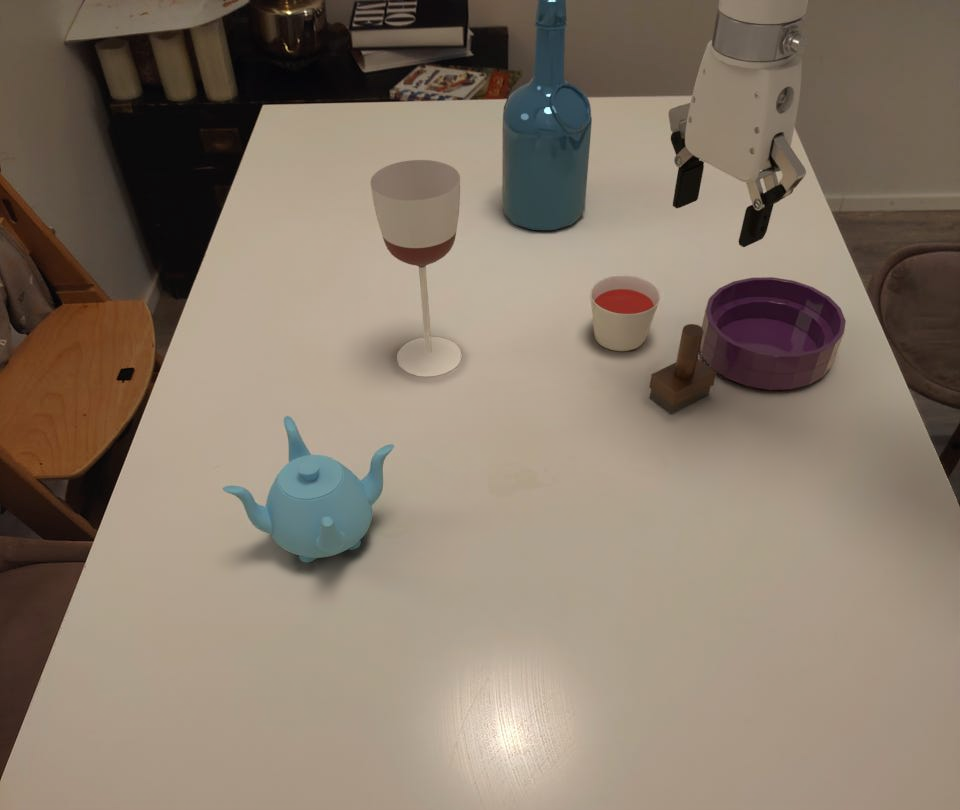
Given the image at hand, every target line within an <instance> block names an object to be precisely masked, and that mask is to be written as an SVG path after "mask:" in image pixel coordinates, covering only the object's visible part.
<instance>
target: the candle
mask: <svg viewBox="0 0 960 810" xmlns="http://www.w3.org/2000/svg"><path fill="white" fill-rule="evenodd" d="M589 293H590V304H591V306H590V307H591V315H592V326H593V335H594V338H595V340H596V342H597V344H599V345H600V346H602V347H603V348H605V349H607V350H611V351H615V352H628V351H632V350H633V351H634V350H635V349H638V348H640V347H641V346H642V345H643V344H644V342H645V341H646V339H647V337H648V334H649V332H650V329H651V326H652V323H653V321H654V318H655V315H656V312H657V309H658V307H659V304H660V302H661V292H660V290H659V288H658V287H657V286H656V284H654V283H653V282H652V281H650V280H648V279H646V278H643V277H641V276H637V275H631V274H616V275H615V274H614V275H610V276H607V277H604V278H601V279H599V280H598V281H597V282H595V283H594V284H593V285H592V286H591V289H590V292H589Z"/></svg>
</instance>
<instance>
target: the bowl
mask: <svg viewBox="0 0 960 810" xmlns="http://www.w3.org/2000/svg"><path fill="white" fill-rule="evenodd" d="M846 323H847V320H846V318H845V316H844V313H843V311H842V308H841V307H840V306H839V305H838V303H836V301H834V300H833V299H832V298H831V296H829V295H827V294H826V293H824V292H822V291H821V290H819V289H817V288H815V287H813V286H811V285H807V284H805V283H802V282H799V281H796V280H792V279H785V278H779V277H770V276H769V277H768V276H767V277H766V276H765V277H763V276H762V277H748V278H744V279H739V280H733V281H731V282H729V283H727V284H725V285H723V286H721V287H719V288H717V290H716V291H715V292H714V293H712V294H711V296H710V297H709V298H708V300H707V304H706V307H705V310H704V315H703V320H702V325H701V327H702V328H703V335H702V340H701V344H700V349H699V352H700V355H701V356H702V358H703V359H704V360H705V362H706V363H707V365H708V366H709V367H711V368H712V369H713V370H715V371H716V373H718V374H720V375H721V376H722V377H724V378H726V379H728V380H730V381H733V382H736V383H738V384H741V385H743V386H746V387H751V388H755V389H761V390H765V391H766V390H767V391H768V390H769V391H770V390H772V391H773V390H775V391H777V390H779V391H780V390H793V389H797V388H801V387H807V386H809V385H811V384H813V383H815V382H816V381H817V382H818V380H820V379H822V378H823V377H825V375H827V373H828V371H830V369H831V368H832V367H833V364H834V362H835V358H836V356H837V353H838V350H839V348H840V345H841V343H842V339H843V337H844V334H845V330H846V329H845V328H846Z"/></svg>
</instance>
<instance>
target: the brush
mask: <svg viewBox="0 0 960 810" xmlns="http://www.w3.org/2000/svg"><path fill="white" fill-rule="evenodd" d="M702 335H703V328H702V326H701V325H700V324H699V325H698V324H695V323H688V324H686V325H684V326H683V327H682V331H681V335H680V341H679V346H678V351H677V356H676V361H675V362H674V363H671V364H670V365H667V366H665V367H663V368H662V369H659V370H657V371H655V372H653V373H651V376H650V382H649V389H650V395H649V399H651V400H652V401H654V402H655V403H656V404H657V405H659V406H660V407H661V408H663V409H664V410H665V411H667V412H668V413H669V414H671V415H672V414H674V413H676V412H679V411H680V410H682V409H684V408H686V407H688V406H690V405H691V404H693V403H695V402H697V401H699V400H701V399H703V398H705V397H707V396H708V395H710V392H711V387H712V386H714V384H715V381H716V376H717V371H715V370H714V369H713V368H711V367H710V365H709V364H706V363H705V362H703V360H701V359H699V358H698V357H699V354H700V353H699V352H700V344H701V340H702Z"/></svg>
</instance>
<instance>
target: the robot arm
mask: <svg viewBox="0 0 960 810" xmlns="http://www.w3.org/2000/svg"><path fill="white" fill-rule="evenodd" d="M808 4H809V0H718V6H717V10H716V16H715V22H714V27H713V32H712V33H713V34H712V39H710V41H708V43H707V45H706V47H705V50H704V53H703V56H702V59H701V62H700V65H699V68H698V72H697V75H696V79H695V83H694V86H693V90H692V93H691V99H690V102H688V103H684V104H682V105H681V104H680V105H678V106H675V107H672V108H670V109H669V111H668V114H667V115H668V120H669V128H670V131H671V135H670V141H671V145H672V148H673V150H674V153H675V156H674V160H673V162H674V165H675V166H676V167H677V168H678V169H677V175H676V176H677V177H676V181H675V187H674V193H673V201H672V207H674V208H675V209H680V208H683V207H685V206H688V205H690V204H692V203H695V202H696V201H698V199H699V195H700V190H701V186H702V185H701V184H702V179H703V174H704V170H705V169H704V168H705V163H706V164H708V165H710V166H712V167H714V168H715V169H717V170H719V171H720V172H723V173H725V174H726V175H729V176H730V177H732V178H735V179H737V180H738V181H740V182H743V183H746V187H747V191H748V193H749V197H750V201H751V205H748V206H747V207H746V209H745V212H744V216H743V220H742V224H741V228H740V233H739V238H738V245H739V246H740V247H742V248H746V247H748V246H750V245H752V244H754V243H756V242H757V243H758V242H759V241H761V240H763V239H764V237H765V235H766V233H767V231H768V228H769V224H770V220H771V216H772V213H773V209H774V204H777V203H779V202H780V201H781V200H783V199H785V198H786V197H788V196H790V195H791V194H792V193H793V192H794V189H796V188H797V186H798V185H799V184H800V183H801V182H802V180H804V178H805V176H806V175H807V169H806V167H805V166H804V164H803V163H802V162H801V160H800V159H799V157H798V156H797V155H796V153H795V151H794V150H793V148H792V147H791V145H792V142H793V136H794V132H795V126H796V121H797V115H798V110H799V104H800V95H801V88H802V87H801V86H802V71H803V65H802V64H803V59H802V58H801V57H800V56H798V55H802V54H803V53H804V52H805V50H806V49H807V47H808V43H809V38H808V36H806V35H803V33H802V30H803V25H804V21H805V17H806V11H807V7H808ZM796 54H797V55H796ZM777 172H778V173H779V172H781V174H782V176H781V179H780V180H779V179H778V176H777ZM761 180H763V183H764V187H765V192H764V190H763V187H762V183H761Z"/></svg>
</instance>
